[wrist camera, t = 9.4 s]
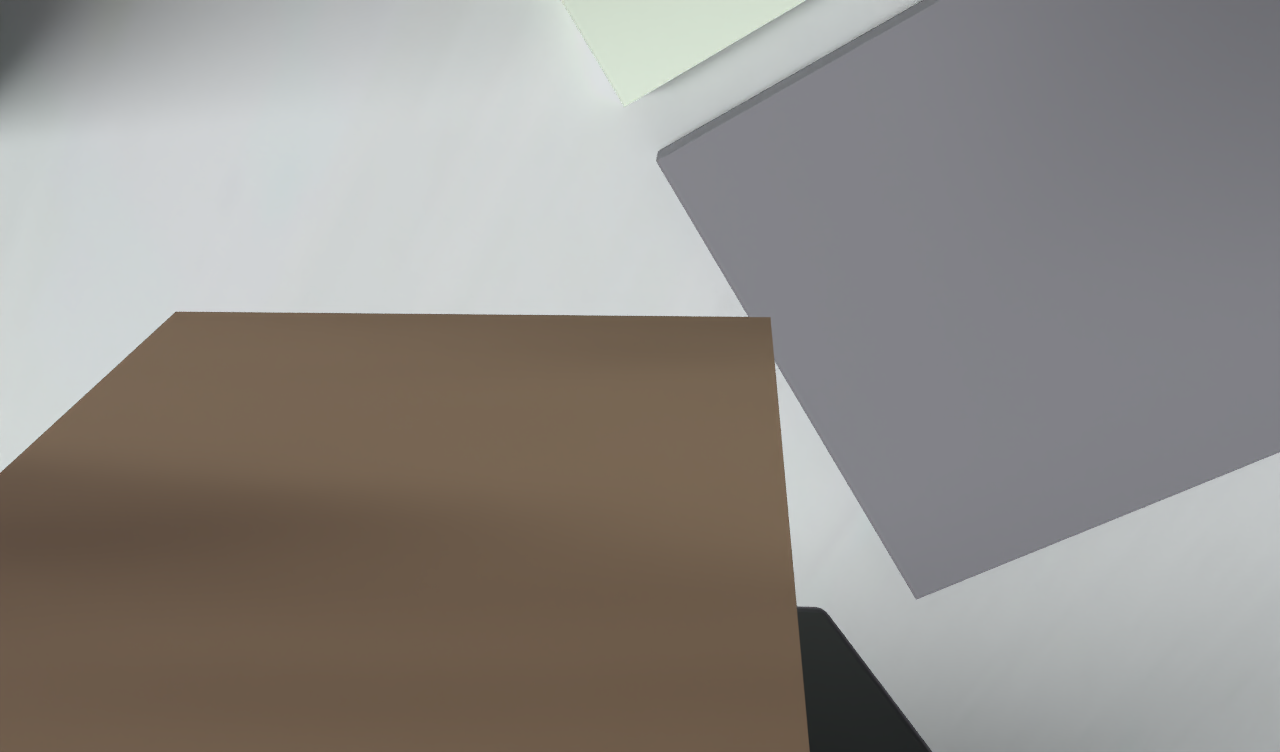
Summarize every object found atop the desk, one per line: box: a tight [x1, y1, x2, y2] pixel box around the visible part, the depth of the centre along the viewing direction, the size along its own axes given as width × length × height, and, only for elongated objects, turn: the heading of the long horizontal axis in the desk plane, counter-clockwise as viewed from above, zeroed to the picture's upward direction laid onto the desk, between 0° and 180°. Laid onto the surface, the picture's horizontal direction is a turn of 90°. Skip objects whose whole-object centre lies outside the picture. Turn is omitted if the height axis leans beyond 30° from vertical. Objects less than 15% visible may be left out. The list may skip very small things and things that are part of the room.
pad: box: [656, 0, 1280, 599], centre depth 18 cm, size 10×10×1 cm
